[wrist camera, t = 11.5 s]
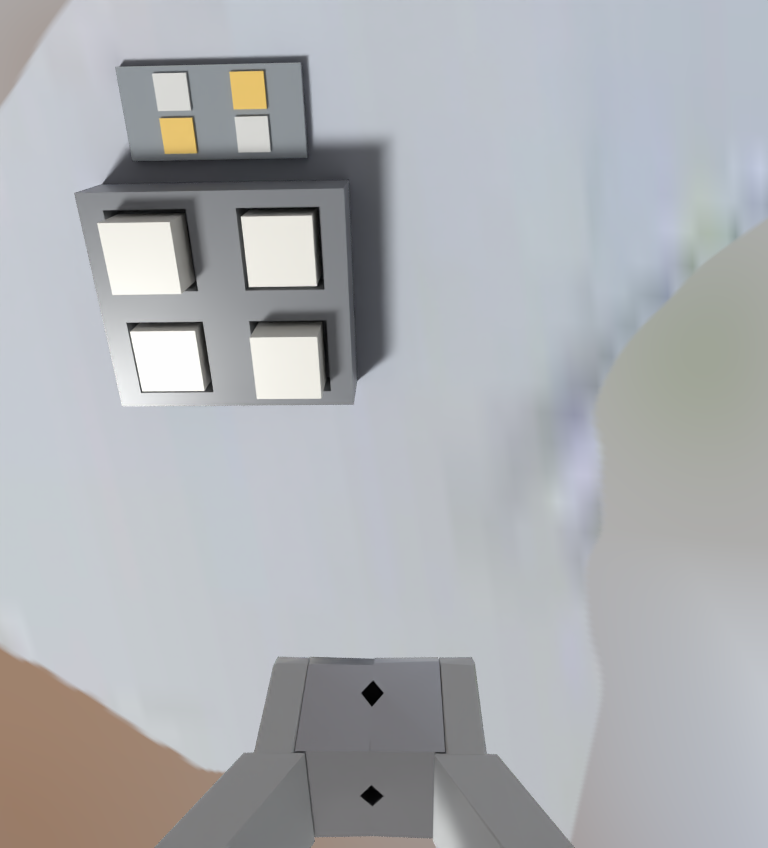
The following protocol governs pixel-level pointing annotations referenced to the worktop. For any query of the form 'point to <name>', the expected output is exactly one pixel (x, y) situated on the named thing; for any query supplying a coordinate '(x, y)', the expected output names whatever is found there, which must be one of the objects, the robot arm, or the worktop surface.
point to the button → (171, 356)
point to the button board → (228, 285)
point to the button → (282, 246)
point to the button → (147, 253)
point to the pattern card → (214, 111)
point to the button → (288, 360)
